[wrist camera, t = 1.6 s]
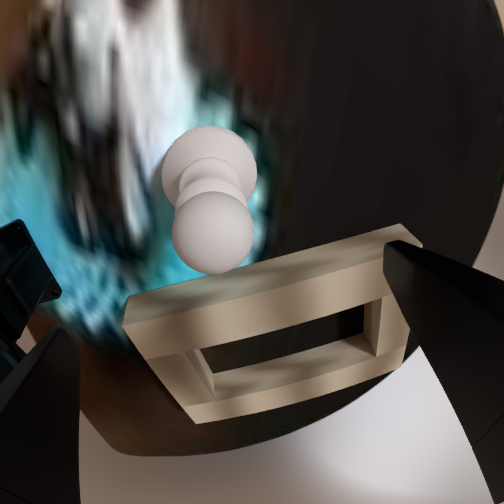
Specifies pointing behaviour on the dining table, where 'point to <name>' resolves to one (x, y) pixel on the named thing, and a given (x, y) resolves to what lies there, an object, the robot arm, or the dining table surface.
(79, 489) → the robot arm
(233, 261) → the chess pawn
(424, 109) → the dining table surface
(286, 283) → the wooden rectangular frame
